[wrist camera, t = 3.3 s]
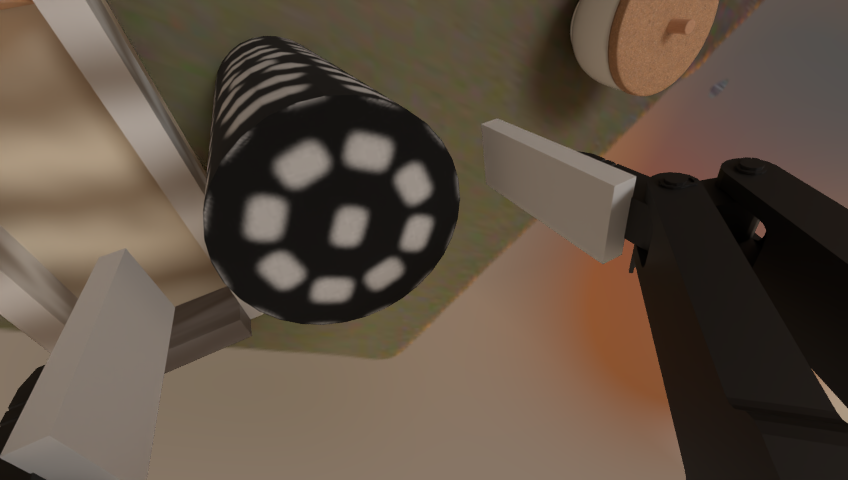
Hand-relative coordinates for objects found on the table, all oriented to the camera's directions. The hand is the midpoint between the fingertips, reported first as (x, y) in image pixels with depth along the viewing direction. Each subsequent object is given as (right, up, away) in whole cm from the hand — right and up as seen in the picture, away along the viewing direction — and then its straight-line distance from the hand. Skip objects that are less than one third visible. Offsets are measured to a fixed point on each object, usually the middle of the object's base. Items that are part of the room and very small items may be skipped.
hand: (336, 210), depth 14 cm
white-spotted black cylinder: (-8, +9, +14) cm, 18 cm away
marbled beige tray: (-20, +2, +11) cm, 23 cm away
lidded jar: (+20, +20, +22) cm, 35 cm away
